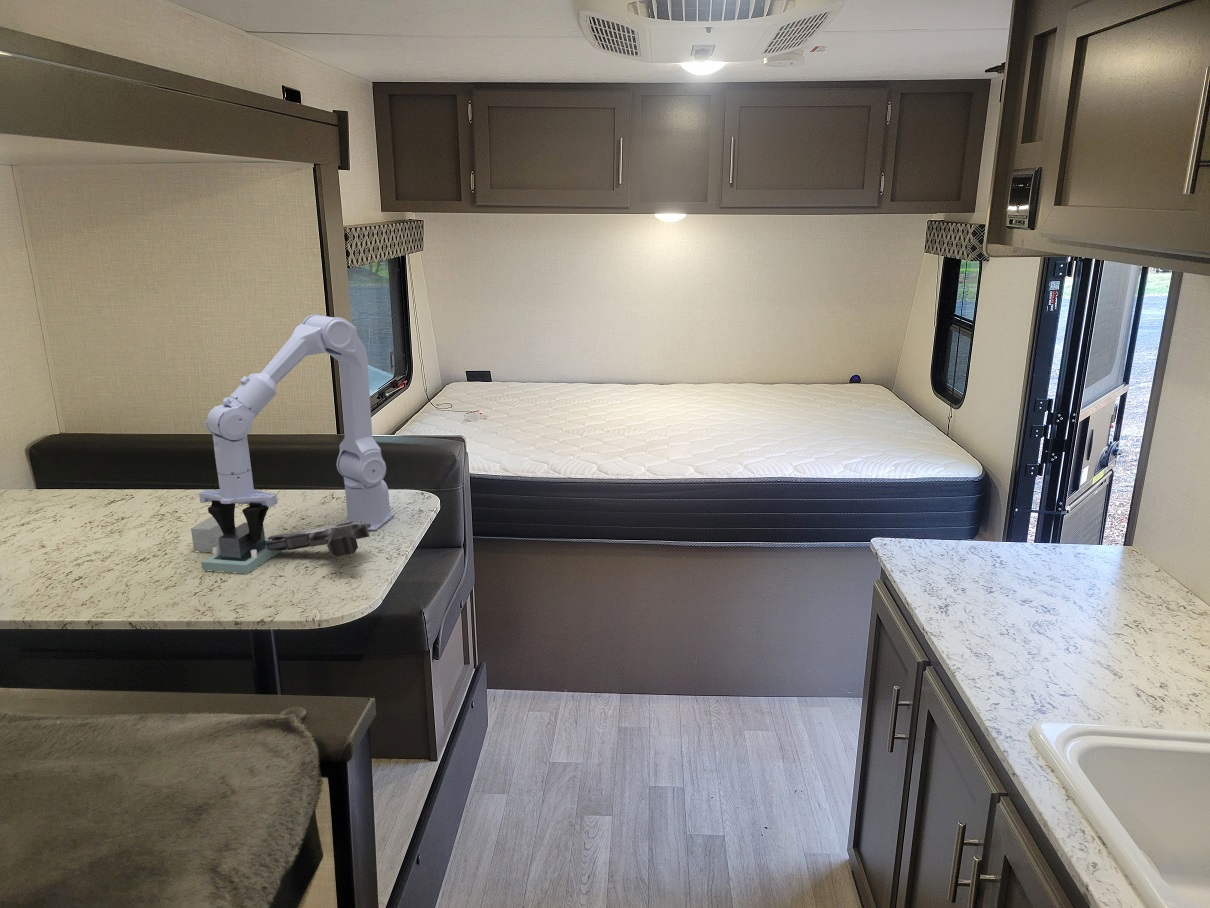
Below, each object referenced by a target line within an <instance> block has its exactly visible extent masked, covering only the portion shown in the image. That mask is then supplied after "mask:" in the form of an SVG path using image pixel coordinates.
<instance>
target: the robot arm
mask: <svg viewBox="0 0 1210 908" xmlns="http://www.w3.org/2000/svg"><path fill="white" fill-rule="evenodd" d="M325 353H326V354H328V355H330V356H331V357H332V358H333V359H334V360H336V361H338V363H339V366H338V367H339V378H340V380H339V381H340V392H341V405H342V419H343V432H344V438H343V439H342V441H341V442H340V443H339V453H338V456H337V459H336V469H337V471H338V472H337V473H339V474H340V475H341V476H342V477H343V482H344V491H345V492H344V493H345V502H346V513H347V514H346V515H347V520H346V521H345V522H344V523H346V522H352V521H357V520H361V521H362V523H366V524H370V526H371V527H370V528H368V531H378V529H379V528H381V527H382V526H383V525H385V523H387V522H388V521H390V520H391V519H392V518H393V517H394V516H395V513H393V512H391V509H390V496H389V495H390V494H389V487H388V485H387V483H386V481H385V480H384V478H385V476H386V474H387V464H386V461H385V460H384V458H383V456H382V449H381V447H380V446H379V444H378V443H377V442H376V440H375V439H374V437H373V430H372V429H373V426H372V410H371V409H372V408H371V397H370V396H371V395H370V380H369V364H368V362H369V361H368V352H367V349H366V347H365V345H364V344H363V342H362V341H361V338H360V337H359V336H358V330H357V327H356V326H355V325H354V324H353V323H352V322H350V321H348V320H347V319H345V318H344V317H339V316H337V317H333V316H327V315H322V314H318V313H314V314H311V315H308V316H306V317H305V318H304V320H303V321H302V322H301V323H300V324H298V325H296V327H295V328H294V331H293V332H292V334H291V336H290V337H289V338H288V340H287V341H286V342H285V343H284V344H283V345H282V347H281V348H280V349H279V350H278V352H277V353H276V354H275V355H274V356H273V357H272V359H271V360H270V361H269V363H268V364H267V365H266V366H265V367H264V369H263V370H262V371H260V372H259V373H250V374H249V375H248V376H245V375H243V377H242V378H241V379H240V380H239V382H240V385H238V387H236V389H235V390H234V391H233V392H232V393H231V394H230V395H229V396H228V397H225V398H223V400H221V401H222V403H223V404H219V405H216V406H214V407H212V408H211V409H210V411H209V412H208V414H207V418H206V421H204V426H205V428H206V429H207V431H208V432H209V433H210V434H211V435H212V442H213V449H214V458H215V464H216V465H215V466H216V473H217V478H218V479H217V480H218V487H219V489H205V490H202V491H200V492H198V497H199V503H201V504H206V503H211V505H210V506H208V507H207V512H208V513H209V514H210V515H211V516H213V517H214V519H215V520H216V521H217V523H218V524H219V526H220V528H221V530H222V532H223V535H224V534H226V533H227V532H229V531H231V530H232V529H234V528H236V523H235V510H236V504H239V505H240V504H241V505H249V506H246V507H245V508H243V509H242V510H241V512H242V513H243V516H244V518H245V520H246V523H247V524H248V527H249V534H250V539H251V542H252V543H256V542H257V541H259V540H260V539H261V532H262V526H263V527H264V522H265V518H266V516H267V513H268V510H269V509H270V508H273V507H274V506H275V505H277V504H278V499H277V493H271V492H265V491H262V490H256V489H255V488H254V481H253V472H252V466H251V465H252V464H251V457H250V448H249V442H248V435H249V434H250V433H251V431H252V428H253V421H254V419H256V417H257V416H258V415H259V414H260V413H261V412H262V411H263V410H264V408H265V407H266V406H267V405H269V403H270V402H271V401H272V400H273V399H274V398H275V397H276V395H277V385H278V384H279V382H281V381H282V380H283V379H284V378H285V377H286V376H287V375H288V374H289V373H290V372H291V371H292V370H293V369H294V368H295V367H296V366H298V364H299V363H301V362H302V361H303V360H304V359H305V358H306V357H307V356H312V355H318V354H319V355H320V354H325Z"/></svg>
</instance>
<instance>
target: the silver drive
mask: <svg viewBox="0 0 1210 908" xmlns="http://www.w3.org/2000/svg"><path fill="white" fill-rule="evenodd" d="M190 531H191V532H190V533H191V538H192V546H193V551H199V552H213V549H212V548H213V547H218V549H219V550H220V546H219V539H218V538H219V537H221V536H222V535H223V532H222V530H221V528H220V526H219V524H218V523H217V521H216V520H215V519H214V517H213V516H212V515H211V516H209V517H208V518H206V519H204V520H203V521H201V522H200V523H198V524H196V525H194V526H193V527H191V528H190ZM199 552H198V553H199Z"/></svg>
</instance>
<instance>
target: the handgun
mask: <svg viewBox="0 0 1210 908" xmlns="http://www.w3.org/2000/svg"><path fill="white" fill-rule="evenodd" d="M345 522H346V521H345ZM345 522H341V523H337V524H332V525H325V526H319V527H315V528H309V529H303V530H298V531H292V532H287V533H282V534H280V533H279V534H275V535H271V536H268V537H267V538H268V540H269V539H272V541H268V542H267V543H266V545H267V549H268V550H275V551H280V550H282V551H293V550H299V549H304V548H309V547H312V548H314V547H320V546H324V545H326V546H327V548H328V549H327V550H328V552H329V554H330V555H332V556H334V557H336V558H337V557H343V556H348V555H352V554H355V553H356V551H357V550H358V548H359V546H358V542H357V540H359V539H364V538H370V537H371V535H370V532H369V530H368V528H370V527H371V526H370V524H366V523H362V521H361V520H357V521H352V522H346V523H345Z"/></svg>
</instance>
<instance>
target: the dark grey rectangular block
mask: <svg viewBox="0 0 1210 908" xmlns="http://www.w3.org/2000/svg"><path fill="white" fill-rule="evenodd" d="M265 538H266V535H265V529H264V525H263V526H262V532H261V539H260V540H259V541H257V542H256V543H252V542H251V539H250V534H249V527H248V524H247V522H242V523H241V524H240V525H237V526H235V528H234V529H232V530H231V531H229V532H227V533H226V534H224V535H222V536H221V537H219V538H218V539H219V546H220V549H219V551H220V553H221V560H231V561H247V560H248V559H250V558H251V550H253V549H256V550H257V553H259V552H260V551H261V550H263V549H264V548H266V543H265Z"/></svg>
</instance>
